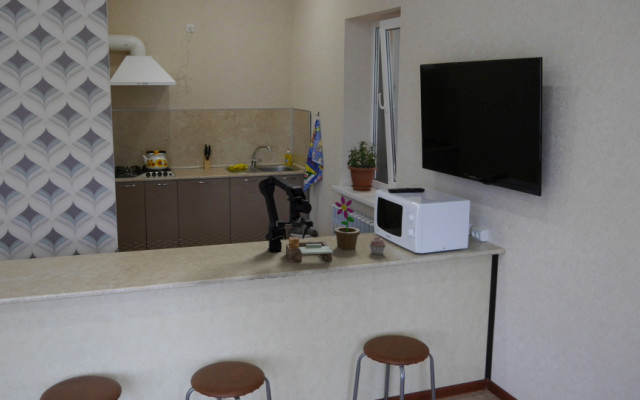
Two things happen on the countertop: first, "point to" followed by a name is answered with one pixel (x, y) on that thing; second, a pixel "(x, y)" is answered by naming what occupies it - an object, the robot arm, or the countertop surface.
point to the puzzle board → (296, 255)
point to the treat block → (293, 242)
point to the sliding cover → (315, 249)
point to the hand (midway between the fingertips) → (294, 239)
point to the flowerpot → (346, 228)
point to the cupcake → (377, 246)
